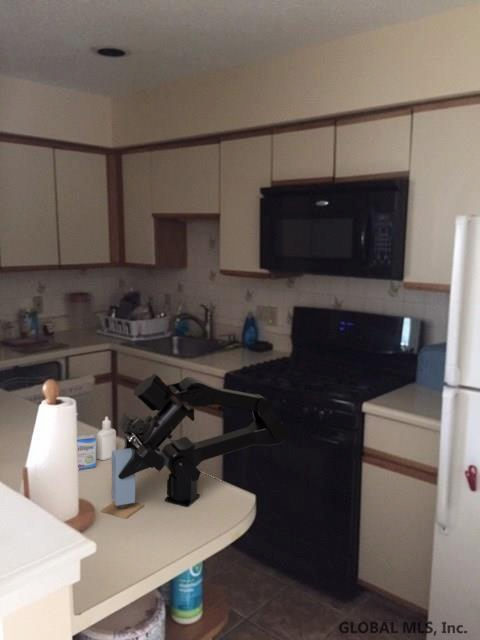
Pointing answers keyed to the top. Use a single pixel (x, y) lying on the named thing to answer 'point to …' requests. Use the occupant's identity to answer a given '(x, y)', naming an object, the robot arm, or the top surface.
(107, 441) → the eye dropper bottle
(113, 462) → the tall blue pillar
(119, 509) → the pen stand
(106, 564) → the top surface
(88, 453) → the medicine box
